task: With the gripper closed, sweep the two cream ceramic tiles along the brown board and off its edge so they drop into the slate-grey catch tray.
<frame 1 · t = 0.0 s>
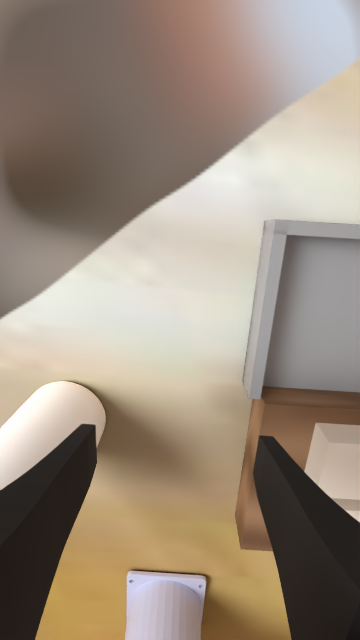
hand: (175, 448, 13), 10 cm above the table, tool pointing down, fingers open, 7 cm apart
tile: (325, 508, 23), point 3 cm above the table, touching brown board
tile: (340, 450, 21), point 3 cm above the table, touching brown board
catch tray: (349, 313, 21), on the table
can: (69, 411, 24), on the table
brown board: (314, 458, 25), on the table
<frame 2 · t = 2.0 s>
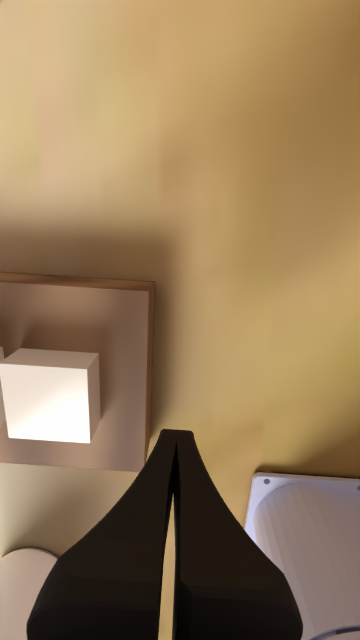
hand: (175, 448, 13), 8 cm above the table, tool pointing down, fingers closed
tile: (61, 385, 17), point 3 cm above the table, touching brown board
can: (36, 567, 27), on the table
brown board: (51, 361, 20), on the table
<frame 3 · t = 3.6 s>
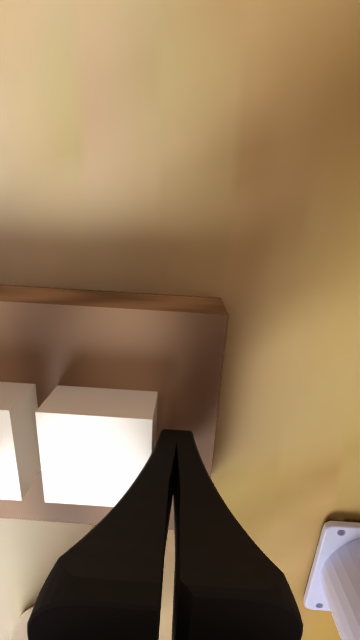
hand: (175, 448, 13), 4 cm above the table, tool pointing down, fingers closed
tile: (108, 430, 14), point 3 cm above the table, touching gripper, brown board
can: (61, 622, 23), on the table
brown board: (87, 393, 17), on the table
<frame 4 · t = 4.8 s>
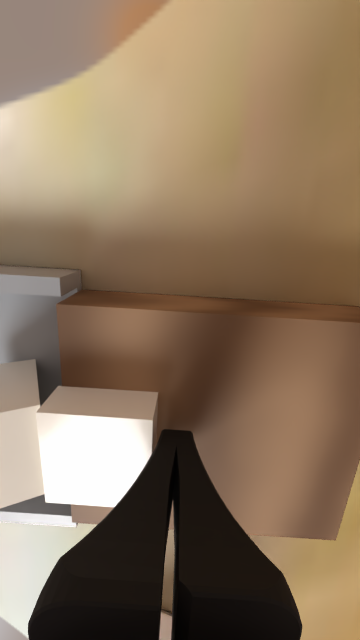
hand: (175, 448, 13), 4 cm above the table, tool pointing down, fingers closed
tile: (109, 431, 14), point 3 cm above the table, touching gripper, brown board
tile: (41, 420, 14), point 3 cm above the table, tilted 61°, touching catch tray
can: (148, 627, 23), on the table
brown board: (209, 401, 16), on the table
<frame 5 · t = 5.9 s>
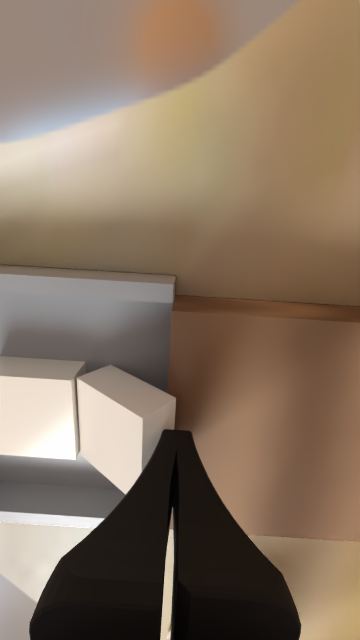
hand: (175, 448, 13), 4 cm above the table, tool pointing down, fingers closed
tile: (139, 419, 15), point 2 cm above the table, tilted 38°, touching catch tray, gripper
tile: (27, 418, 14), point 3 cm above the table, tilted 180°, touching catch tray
catch tray: (63, 391, 17), on the table
brown board: (292, 406, 16), on the table
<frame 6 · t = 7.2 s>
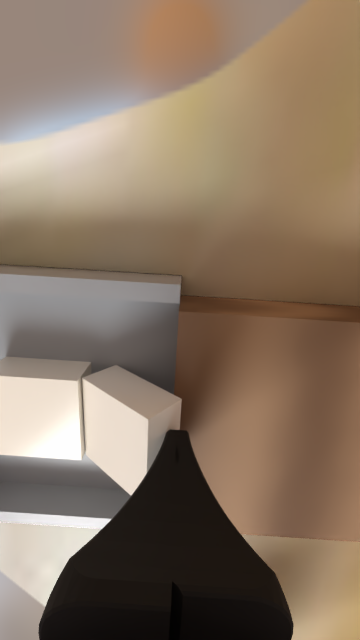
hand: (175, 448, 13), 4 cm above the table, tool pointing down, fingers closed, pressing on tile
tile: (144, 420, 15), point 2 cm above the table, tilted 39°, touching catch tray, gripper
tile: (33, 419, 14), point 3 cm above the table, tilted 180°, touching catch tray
catch tray: (69, 392, 17), on the table
brown board: (297, 406, 16), on the table
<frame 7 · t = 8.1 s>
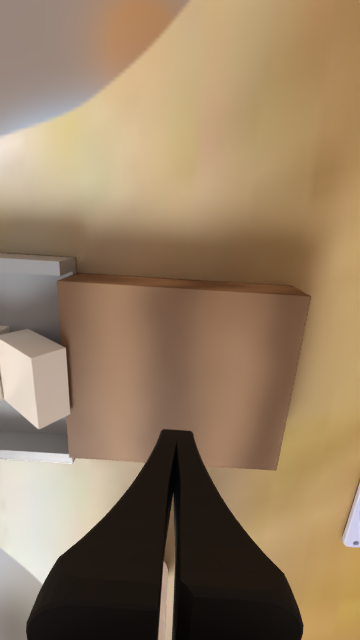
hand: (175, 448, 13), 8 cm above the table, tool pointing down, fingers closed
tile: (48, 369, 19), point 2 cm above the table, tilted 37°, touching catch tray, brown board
can: (134, 563, 27), on the table
brown board: (178, 363, 21), on the table
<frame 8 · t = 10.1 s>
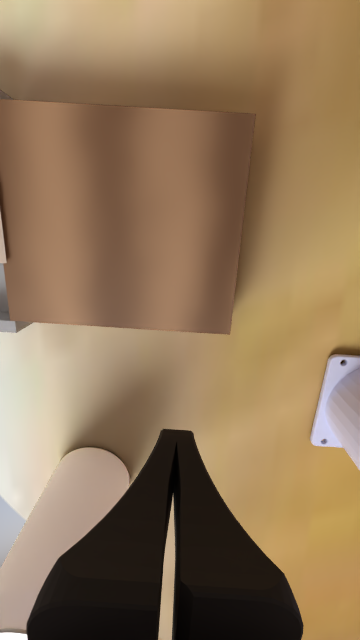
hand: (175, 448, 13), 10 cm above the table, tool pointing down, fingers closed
can: (95, 472, 26), on the table
brown board: (129, 228, 20), on the table
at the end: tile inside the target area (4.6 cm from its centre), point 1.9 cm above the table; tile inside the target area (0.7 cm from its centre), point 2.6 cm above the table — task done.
